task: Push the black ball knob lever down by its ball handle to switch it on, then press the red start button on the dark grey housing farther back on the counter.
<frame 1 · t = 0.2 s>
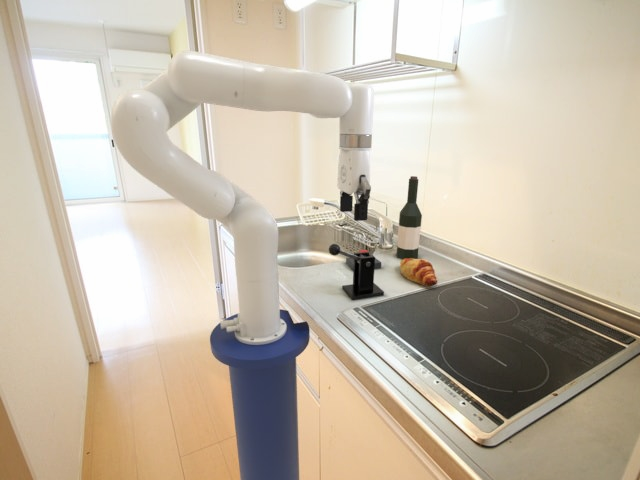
hand: (353, 215, 90), 25 cm above the counter, tool pointing down, fingers open, 9 cm apart
ball knob lever: (349, 255, 101), point 12 cm above the counter, hinge at 25.0°
lever bracket: (362, 292, 107), on the counter
croissant: (417, 277, 119), on the counter
button housing: (363, 265, 128), on the counter
start button: (363, 253, 126), point 4 cm above the counter, slide at 0.1 cm
wine bottle: (406, 257, 138), on the counter
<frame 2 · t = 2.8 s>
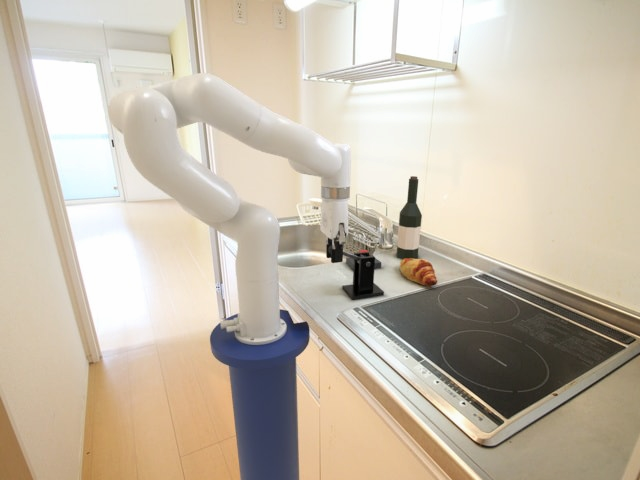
hand: (334, 259, 100), 11 cm above the counter, tool pointing down, fingers closed on ball knob lever, 3 cm apart
ball knob lever: (349, 255, 101), point 12 cm above the counter, hinge at 25.0°, touching gripper
everything else where it was.
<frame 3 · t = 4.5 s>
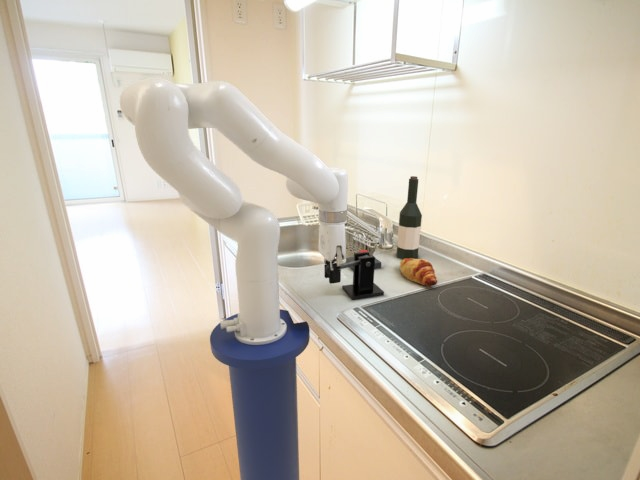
hand: (332, 279, 102), 5 cm above the counter, tool pointing down, fingers closed on ball knob lever, 3 cm apart
ball knob lever: (347, 265, 102), point 9 cm above the counter, hinge at -8.3°, touching gripper
everything else where it was.
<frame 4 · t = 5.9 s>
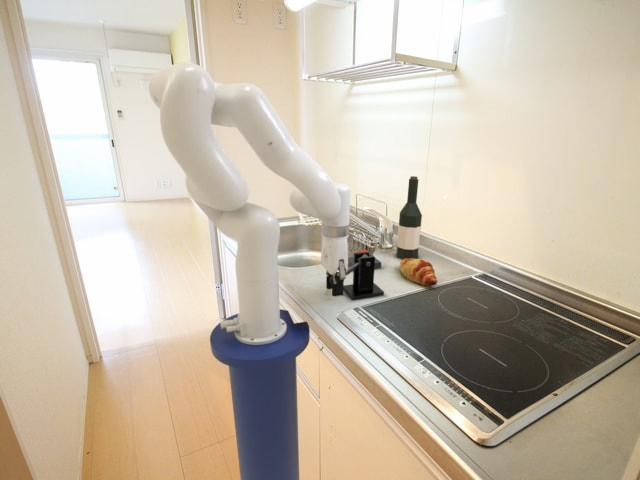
hand: (334, 291, 103), 2 cm above the counter, tool pointing down, fingers open, 4 cm apart
ball knob lever: (349, 270, 103), point 8 cm above the counter, hinge at -29.2°
everything else where it was.
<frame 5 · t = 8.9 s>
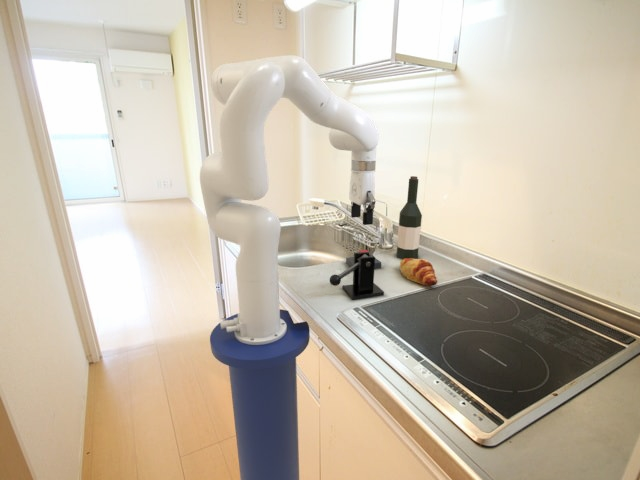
hand: (361, 220, 118), 17 cm above the counter, tool pointing down, fingers open, 9 cm apart
nothing on the counter moved.
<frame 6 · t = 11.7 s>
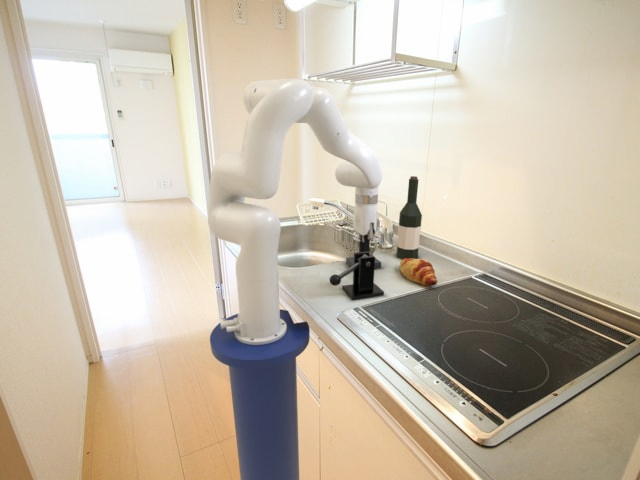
hand: (364, 251, 126), 5 cm above the counter, tool pointing down, fingers closed
start button: (363, 254, 126), point 4 cm above the counter, slide at -0.1 cm, touching gripper
everything else where it was.
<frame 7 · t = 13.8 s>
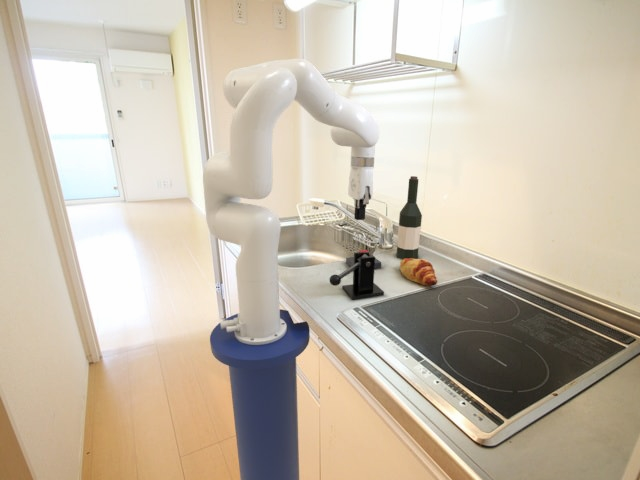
hand: (359, 219, 122), 17 cm above the counter, tool pointing down, fingers closed
start button: (363, 253, 126), point 4 cm above the counter, slide at 0.1 cm
everything else where it was.
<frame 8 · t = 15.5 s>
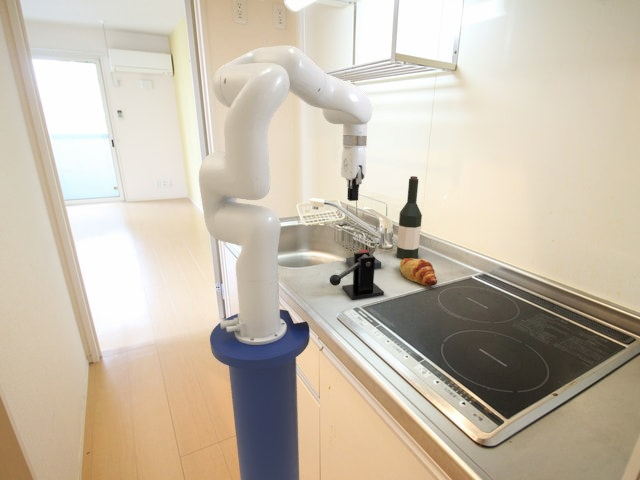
hand: (352, 200, 120), 23 cm above the counter, tool pointing down, fingers closed
nothing on the counter moved.
at the end: ball knob lever at -29° (first picture: +25°); start button pushed in 1.1 cm at the most during the clip, back to where it started at the end; start button slide at 0.1 cm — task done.
